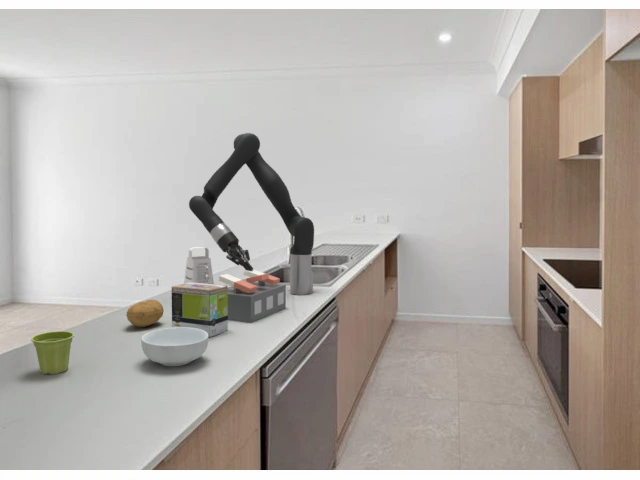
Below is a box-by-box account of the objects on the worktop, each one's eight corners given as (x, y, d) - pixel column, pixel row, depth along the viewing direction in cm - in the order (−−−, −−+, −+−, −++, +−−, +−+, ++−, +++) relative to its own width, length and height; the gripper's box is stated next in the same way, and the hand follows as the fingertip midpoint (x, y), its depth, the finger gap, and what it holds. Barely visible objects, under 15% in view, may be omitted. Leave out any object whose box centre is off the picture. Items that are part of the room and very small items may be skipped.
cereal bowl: (127, 367, 135) (126, 339, 134) (168, 348, 150) (168, 324, 149) (184, 376, 128) (183, 347, 128) (220, 356, 144) (220, 331, 143)
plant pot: (41, 380, 124) (40, 344, 124) (26, 370, 131) (25, 336, 130) (81, 370, 131) (80, 336, 131) (65, 361, 138) (64, 329, 137)
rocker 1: (226, 278, 191) (227, 273, 191) (256, 291, 186) (257, 286, 186) (218, 280, 187) (219, 275, 186) (248, 293, 182) (250, 288, 182)
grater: (215, 295, 226) (215, 248, 224) (191, 297, 220) (191, 249, 218) (205, 291, 234) (205, 245, 232) (182, 293, 228) (182, 247, 227)
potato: (117, 329, 169) (117, 305, 168) (146, 319, 182) (146, 296, 181) (142, 333, 166) (142, 307, 165) (170, 322, 179) (170, 299, 178)
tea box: (228, 330, 171) (228, 284, 169) (209, 338, 161) (209, 290, 160) (191, 324, 177) (190, 280, 175) (170, 331, 168) (170, 285, 166)
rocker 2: (239, 284, 199) (238, 279, 199) (269, 278, 193) (268, 273, 193) (232, 286, 194) (231, 281, 194) (262, 280, 189) (261, 275, 189)
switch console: (257, 301, 215) (257, 275, 214) (293, 305, 208) (293, 278, 207) (211, 317, 187) (211, 287, 186) (251, 322, 180) (251, 291, 179)
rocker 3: (250, 273, 206) (251, 268, 206) (279, 283, 201) (280, 278, 201) (243, 274, 202) (244, 270, 201) (272, 285, 197) (273, 280, 196)
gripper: (220, 232, 200) (247, 267, 196) (239, 230, 212) (266, 262, 208) (208, 245, 202) (235, 280, 198) (228, 242, 214) (254, 275, 210)
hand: (251, 271), depth 203 cm, fingers closed
